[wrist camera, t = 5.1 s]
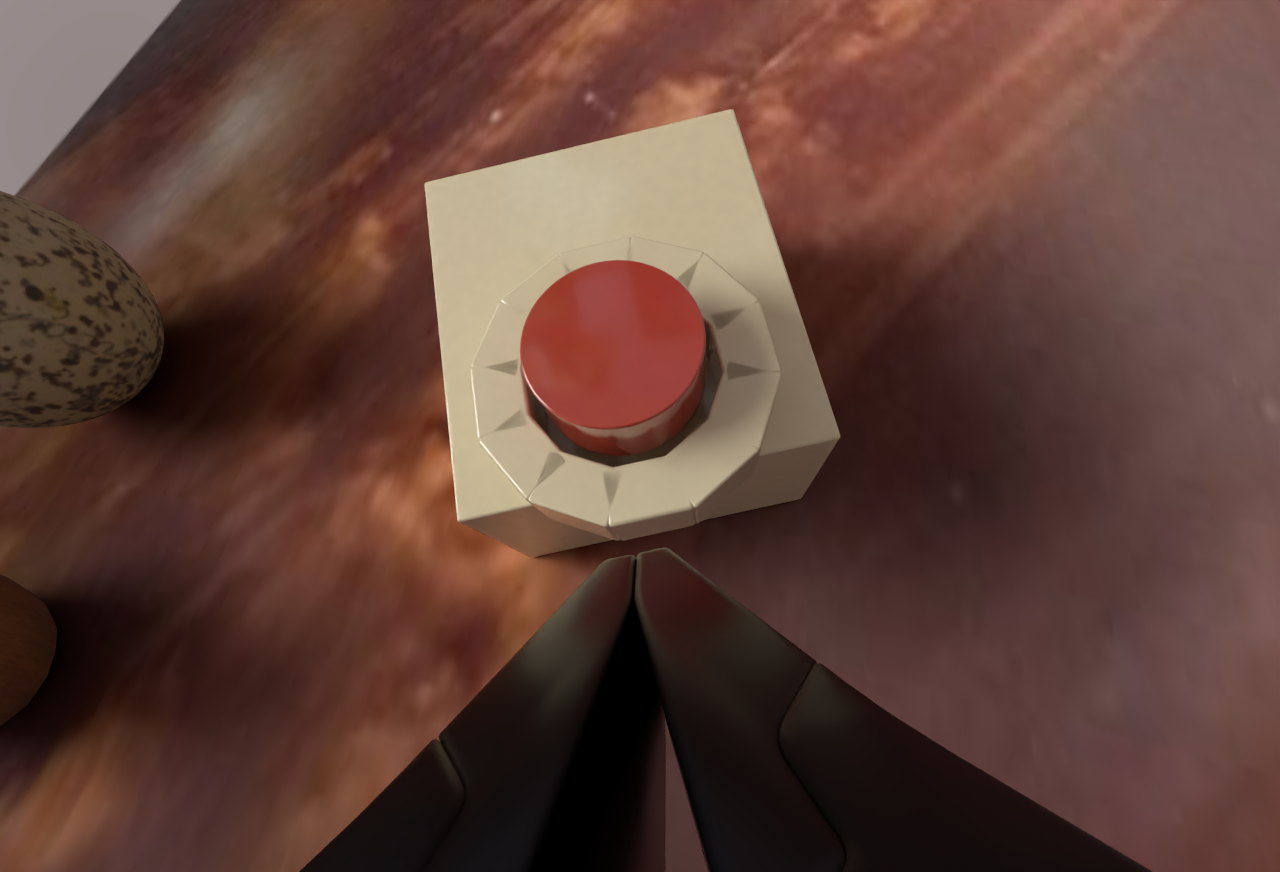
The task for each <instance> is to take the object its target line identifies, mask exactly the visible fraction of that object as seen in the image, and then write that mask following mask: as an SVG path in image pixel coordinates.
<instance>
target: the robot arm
mask: <svg viewBox="0 0 1280 872" xmlns="http://www.w3.org/2000/svg"><path fill="white" fill-rule="evenodd" d="M664 715H665V716H664ZM665 718H666V722H667V726H668V729H669V733H670V737H671V740H672V744H673V748H674V751H675V755H676V758H677V762H678V765H679V769H680V773H681V776H682V780H683V783H684V787H685V790H686V794H687V798H688V801H689V805H690V808H691V812H692V815H693V819H694V823H695V826H696V830H697V833H698V837H699V841H700V844H701V848H702V851H703V855H704V858H705V862H706V866H707V869H708V872H1152V871H1151V870H1149V869H1147V868H1146V867H1144V866H1142V865H1140V864H1139V863H1137V862H1135V861H1134V860H1132V859H1130V858H1129V857H1127V856H1125V855H1124V854H1122V853H1120V852H1119V851H1117V850H1115V849H1114V848H1112V847H1110V846H1108V845H1107V844H1105V843H1103V842H1102V841H1100V840H1098V839H1097V838H1095V837H1093V836H1092V835H1090V834H1088V833H1087V832H1085V831H1083V830H1082V829H1080V828H1078V827H1076V826H1075V825H1073V824H1071V823H1070V822H1068V821H1066V820H1065V819H1063V818H1061V817H1060V816H1058V815H1056V814H1055V813H1053V812H1051V811H1050V810H1048V809H1046V808H1045V807H1043V806H1041V805H1039V804H1038V803H1036V802H1034V801H1033V800H1031V799H1029V798H1028V797H1026V796H1024V795H1023V794H1021V793H1019V792H1018V791H1016V790H1014V789H1013V788H1011V787H1009V786H1007V785H1006V784H1004V783H1002V782H1001V781H999V780H997V779H996V778H994V777H992V776H991V775H989V774H987V773H986V772H984V771H982V770H981V769H979V768H977V767H975V766H974V765H972V764H970V763H969V762H967V761H965V760H964V759H962V758H960V757H959V756H957V755H955V754H954V753H952V752H950V751H949V750H947V749H946V748H944V747H942V746H941V745H939V744H938V743H936V742H934V741H933V740H931V739H930V738H928V737H926V736H925V735H923V734H922V733H920V732H918V731H917V730H915V729H914V728H912V727H910V726H909V725H907V724H906V723H904V722H902V721H901V720H899V719H898V718H896V717H894V716H893V715H891V714H890V713H888V712H887V711H886V710H884V709H883V708H881V707H880V706H879V705H877V704H876V703H874V702H873V701H871V700H870V699H869V698H867V697H866V696H864V695H863V694H862V693H860V692H859V691H857V690H856V689H855V688H853V687H852V686H850V685H849V684H847V683H846V682H845V681H843V680H842V679H841V678H839V677H838V676H837V675H836V674H834V673H833V672H832V671H830V670H829V669H828V668H826V667H825V666H824V665H822V664H820V663H818V664H817V662H816V661H815V660H814V659H813V658H811V657H810V656H809V655H807V654H806V653H805V652H803V651H802V650H801V649H799V648H798V647H797V646H796V645H794V644H793V643H792V642H790V641H789V640H788V639H786V638H785V637H784V636H782V635H781V634H780V633H779V632H777V631H776V630H775V629H773V628H772V627H771V626H769V625H768V624H767V623H765V622H764V621H763V620H761V619H760V618H759V617H758V616H756V615H755V614H754V613H752V612H751V611H750V610H748V609H747V608H746V607H744V606H743V605H742V604H741V603H739V602H738V601H737V600H735V599H734V598H733V597H731V596H730V595H729V594H727V593H726V592H725V591H723V590H722V589H721V588H720V587H718V586H717V585H716V584H714V583H713V582H712V581H710V580H709V579H708V578H706V577H705V576H704V575H703V574H701V573H700V572H699V571H697V570H696V569H695V568H693V567H692V566H691V565H689V564H688V563H687V562H685V561H684V560H683V559H682V558H680V557H679V556H678V555H676V554H675V553H674V552H672V551H671V550H670V549H668V548H660V549H655V550H651V551H646V552H641V553H639V554H638V555H637V558H636V557H635V556H633V555H626V556H622V557H617V558H612V559H607V560H605V561H603V562H602V563H601V564H600V565H599V566H598V567H597V568H596V570H595V571H594V572H593V573H592V574H591V575H590V576H589V577H588V578H587V579H586V580H585V581H584V582H583V583H582V584H581V585H580V586H579V588H578V589H577V590H576V591H575V592H574V593H573V594H572V595H571V596H570V597H569V598H568V599H567V600H566V601H565V602H564V603H563V604H562V605H561V607H560V608H559V609H558V610H557V611H556V612H555V613H554V614H553V615H552V616H551V617H550V618H549V619H548V620H547V621H546V622H545V623H544V624H543V626H542V627H541V628H540V629H539V630H538V631H537V632H536V633H535V634H534V635H533V636H532V637H531V638H530V639H529V640H528V641H527V642H526V643H525V645H524V646H523V647H522V648H521V649H520V650H519V651H518V652H517V653H516V654H515V655H514V656H513V657H512V658H511V659H510V660H509V661H508V662H507V664H506V665H505V666H504V667H503V668H502V669H501V670H500V671H499V672H498V673H497V674H496V675H495V676H494V677H493V678H492V679H491V680H490V681H489V683H488V684H487V685H486V686H485V687H484V688H483V689H482V690H481V691H480V692H479V693H478V694H477V695H476V696H475V697H474V698H473V699H472V701H471V702H470V703H469V704H468V705H467V706H466V707H465V708H464V709H463V710H462V711H461V712H460V713H459V714H458V715H457V716H456V717H455V718H454V719H453V721H452V722H451V723H450V724H449V725H448V726H447V727H446V728H445V729H444V730H443V731H442V732H441V733H440V735H439V740H438V739H434V740H432V741H431V742H430V743H429V744H428V745H427V746H426V747H425V748H424V749H423V750H422V751H421V752H420V753H419V754H418V756H417V757H416V758H415V759H414V760H413V761H412V762H411V763H410V764H409V765H408V766H407V767H406V768H405V769H404V770H403V771H402V772H401V773H400V774H399V775H398V776H397V777H396V778H395V779H394V780H393V781H392V782H391V783H390V784H389V785H388V786H387V787H386V788H385V789H384V790H383V791H382V792H381V793H380V794H379V795H378V796H377V797H376V798H375V799H374V800H373V801H372V802H371V804H370V805H369V806H368V807H367V808H366V809H365V810H364V811H363V812H362V813H361V814H360V815H359V816H358V817H357V818H356V819H355V820H353V821H352V822H351V823H350V824H349V825H348V826H347V827H346V828H345V829H344V830H343V831H342V832H341V833H340V834H339V835H338V836H337V837H335V838H334V839H333V840H332V841H331V842H330V843H329V844H328V845H327V846H326V847H325V848H324V849H323V850H322V851H321V852H320V853H319V854H317V855H316V856H315V857H314V858H313V859H312V860H311V861H310V862H309V863H308V864H307V865H306V866H305V867H304V868H303V869H302V870H301V871H300V872H665V762H666V738H665Z"/></svg>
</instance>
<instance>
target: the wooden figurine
mask: <svg viewBox="0 0 1280 872" xmlns="http://www.w3.org/2000/svg"><path fill="white" fill-rule="evenodd" d="M56 639H57V628H56V625H55V623H54V621H53V619H52V617H51V615H50V613H49V610H48V608H47V606H46V604H45V603H44V602H43V601H41V600H40V599H39V598H37V597H36V596H35V595H34V594H32V593H31V592H30V591H28V590H26V589H25V588H23V587H22V586H20V585H19V584H17V583H16V582H14V581H12V580H11V579H9V578H7V577H5V576H3V575H1V574H0V726H1V725H3V724H4V723H5V722H7V721H8V720H9V719H10V718H12V717H13V716H14V715H15V714H17V713H18V712H19V711H20V710H22V709H23V708H24V707H25V706H27V705H28V704H29V702H30V701H31V699H32V698H33V696H34V695H35V694H36V692H37V691H38V689H39V688H40V686H41V685H42V683H43V682H44V681H45V679H46V678H47V675H48V672H49V669H50V666H51V663H52V660H53V657H54V654H55V650H56Z"/></svg>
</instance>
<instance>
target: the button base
mask: <svg viewBox="0 0 1280 872" xmlns="http://www.w3.org/2000/svg"><path fill="white" fill-rule="evenodd" d="M425 194H426V204H427V215H428V225H429V235H430V245H431V255H432V266H433V276H434V286H435V296H436V306H437V317H438V327H439V337H440V347H441V358H442V368H443V378H444V388H445V398H446V409H447V419H448V429H449V439H450V450H451V460H452V470H453V480H454V490H455V501H456V511H457V520H458V522H460V523H462V524H464V525H466V526H468V527H470V528H472V529H474V530H476V531H478V532H480V533H482V534H484V535H486V536H488V537H490V538H492V539H494V540H496V541H498V542H500V543H502V544H504V545H506V546H508V547H510V548H512V549H514V550H516V551H518V552H520V553H522V554H524V555H526V556H528V557H536V556H541V555H545V554H550V553H554V552H559V551H564V550H568V549H573V548H577V547H582V546H587V545H591V544H596V543H600V542H605V541H610V540H616V541H619V540H623V541H624V540H629V539H634V538H638V537H643V536H647V535H652V534H657V533H661V532H666V531H670V530H675V529H680V528H684V527H689V526H693V525H694V524H695V523H696V524H698V523H700V522H701V521H702V520H706V519H711V518H715V517H720V516H725V515H729V514H734V513H738V512H743V511H748V510H752V509H757V508H761V507H766V506H771V505H775V504H780V503H784V502H789V501H794V500H798V499H801V498H802V497H803V496H804V494H805V493H806V491H807V489H808V488H809V486H810V485H811V483H812V482H813V480H814V478H815V477H816V475H817V474H818V472H819V471H820V469H821V467H822V466H823V464H824V463H825V461H826V459H827V458H828V456H829V455H830V453H831V452H832V450H833V448H834V447H835V445H836V444H837V442H838V441H839V439H840V436H841V435H840V432H839V429H838V426H837V423H836V420H835V417H834V414H833V411H832V408H831V405H830V402H829V399H828V396H827V393H826V390H825V386H824V383H823V380H822V377H821V374H820V371H819V368H818V365H817V362H816V359H815V356H814V353H813V350H812V347H811V344H810V341H809V338H808V335H807V332H806V329H805V326H804V323H803V319H802V316H801V313H800V310H799V307H798V304H797V301H796V298H795V295H794V292H793V289H792V286H791V283H790V280H789V277H788V274H787V271H786V268H785V265H784V262H783V259H782V256H781V252H780V249H779V246H778V243H777V240H776V237H775V234H774V231H773V228H772V225H771V222H770V219H769V216H768V213H767V210H766V207H765V204H764V201H763V198H762V195H761V192H760V189H759V185H758V182H757V179H756V176H755V173H754V170H753V167H752V164H751V161H750V158H749V155H748V152H747V149H746V146H745V143H744V140H743V137H742V134H741V131H740V128H739V125H738V122H737V118H736V115H735V112H734V110H733V109H729V110H725V111H721V112H717V113H713V114H708V115H704V116H700V117H696V118H692V119H688V120H683V121H679V122H675V123H671V124H667V125H663V126H658V127H654V128H650V129H646V130H642V131H638V132H633V133H629V134H625V135H621V136H617V137H613V138H608V139H604V140H600V141H596V142H592V143H588V144H583V145H579V146H575V147H571V148H567V149H563V150H559V151H554V152H550V153H546V154H542V155H538V156H534V157H529V158H525V159H521V160H517V161H513V162H509V163H504V164H500V165H496V166H492V167H488V168H484V169H479V170H475V171H471V172H467V173H463V174H459V175H454V176H450V177H446V178H442V179H438V180H434V181H430V182H426V183H425ZM611 260H628V261H635V262H641V263H644V264H648V265H651V266H654V267H656V268H658V269H661V270H663V271H664V272H666V273H668V274H669V275H671V276H673V277H674V278H675V279H676V280H678V281H679V282H680V283H681V284H682V285H683V286H684V287H685V288H686V289H687V290H688V291H689V292H690V294H691V295H692V297H693V298H694V299H695V301H696V303H697V305H698V307H699V309H700V311H701V314H702V317H703V320H704V325H705V330H706V385H705V391H704V395H703V398H702V401H701V403H700V406H699V408H698V410H697V412H696V413H695V415H694V417H693V418H692V419H691V421H690V422H689V423H688V425H687V426H686V427H685V428H684V429H683V430H682V431H681V432H680V433H679V434H677V435H676V436H675V437H674V438H672V439H671V440H670V441H668V442H666V443H664V444H663V445H661V446H659V447H657V448H654V449H652V450H650V451H646V452H643V453H639V454H633V455H625V456H614V455H604V454H600V453H596V452H593V451H590V450H587V449H585V448H583V447H581V446H579V445H577V444H575V443H574V442H572V441H571V440H570V439H568V438H567V437H566V436H565V435H564V434H563V433H562V432H561V431H560V430H559V429H558V428H557V427H556V425H555V424H554V423H553V422H552V420H551V419H550V417H549V416H548V414H547V413H546V411H545V410H544V409H543V407H542V406H541V404H540V403H539V401H538V400H537V399H536V397H535V396H534V394H533V393H532V391H531V389H530V388H529V386H528V384H527V382H526V379H525V377H524V374H523V371H522V366H521V361H520V340H521V335H522V331H523V327H524V324H525V321H526V319H527V317H528V315H529V313H530V311H531V309H532V307H533V306H534V304H535V303H536V301H537V300H538V298H539V297H540V296H541V295H542V294H543V293H544V292H545V290H547V289H548V288H549V287H550V286H551V285H552V284H553V283H554V282H556V281H557V280H559V279H560V278H561V277H563V276H564V275H566V274H568V273H570V272H572V271H574V270H576V269H578V268H581V267H583V266H586V265H589V264H593V263H597V262H602V261H611Z"/></svg>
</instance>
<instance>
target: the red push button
mask: <svg viewBox="0 0 1280 872" xmlns="http://www.w3.org/2000/svg"><path fill="white" fill-rule="evenodd" d="M520 361H521V366H522V371H523V374H524V377H525V379H526V382H527V384H528V386H529V388H530V389H531V391H532V393H533V394H534V396H535V397H536V399H537V400H538V401H539V403H540V404H541V406H542V407H543V409H544V410H545V411H546V413H547V414H548V416H549V417H550V419H551V420H552V422H553V423H554V424H555V425H556V427H557V428H558V429H559V430H560V431H561V432H562V433H563V434H564V435H565V436H566V437H567V438H568V439H570V440H571V441H572V442H574V443H575V444H577V445H579V446H581V447H583V448H585V449H587V450H590V451H593V452H596V453H600V454H604V455H614V456H625V455H633V454H639V453H643V452H646V451H650V450H652V449H654V448H657V447H659V446H661V445H663V444H664V443H666V442H668V441H670V440H671V439H672V438H674V437H675V436H676V435H677V434H679V433H680V432H681V431H682V430H683V429H684V428H685V427H686V426H687V425H688V423H689V422H690V421H691V419H692V418H693V417H694V415H695V413H696V412H697V410H698V408H699V406H700V403H701V401H702V398H703V395H704V391H705V385H706V330H705V325H704V320H703V317H702V314H701V311H700V309H699V307H698V305H697V303H696V301H695V299H694V298H693V297H692V295H691V294H690V292H689V291H688V290H687V289H686V288H685V287H684V286H683V285H682V284H681V283H680V282H679V281H678V280H676V279H675V278H674V277H673V276H671V275H669V274H668V273H666V272H664V271H663V270H661V269H658V268H656V267H654V266H651V265H648V264H644V263H641V262H635V261H628V260H611V261H602V262H597V263H593V264H589V265H586V266H583V267H581V268H578V269H576V270H574V271H572V272H570V273H568V274H566V275H564V276H563V277H561V278H560V279H559V280H557V281H556V282H554V283H553V284H552V285H551V286H550V287H549V288H548V289H547V290H545V292H544V293H543V294H542V295H541V296H540V297H539V298H538V300H537V301H536V303H535V304H534V306H533V307H532V309H531V311H530V313H529V315H528V317H527V319H526V321H525V324H524V327H523V331H522V335H521V340H520Z"/></svg>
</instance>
